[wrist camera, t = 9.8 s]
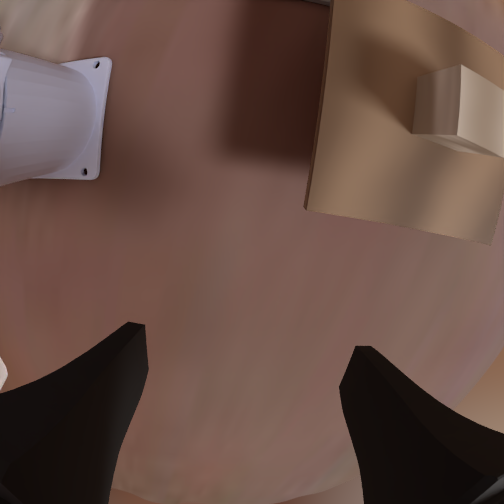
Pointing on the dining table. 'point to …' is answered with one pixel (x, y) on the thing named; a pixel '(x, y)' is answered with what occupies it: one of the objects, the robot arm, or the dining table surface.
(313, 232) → the dining table surface
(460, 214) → the square tan board
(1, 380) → the foam cup
